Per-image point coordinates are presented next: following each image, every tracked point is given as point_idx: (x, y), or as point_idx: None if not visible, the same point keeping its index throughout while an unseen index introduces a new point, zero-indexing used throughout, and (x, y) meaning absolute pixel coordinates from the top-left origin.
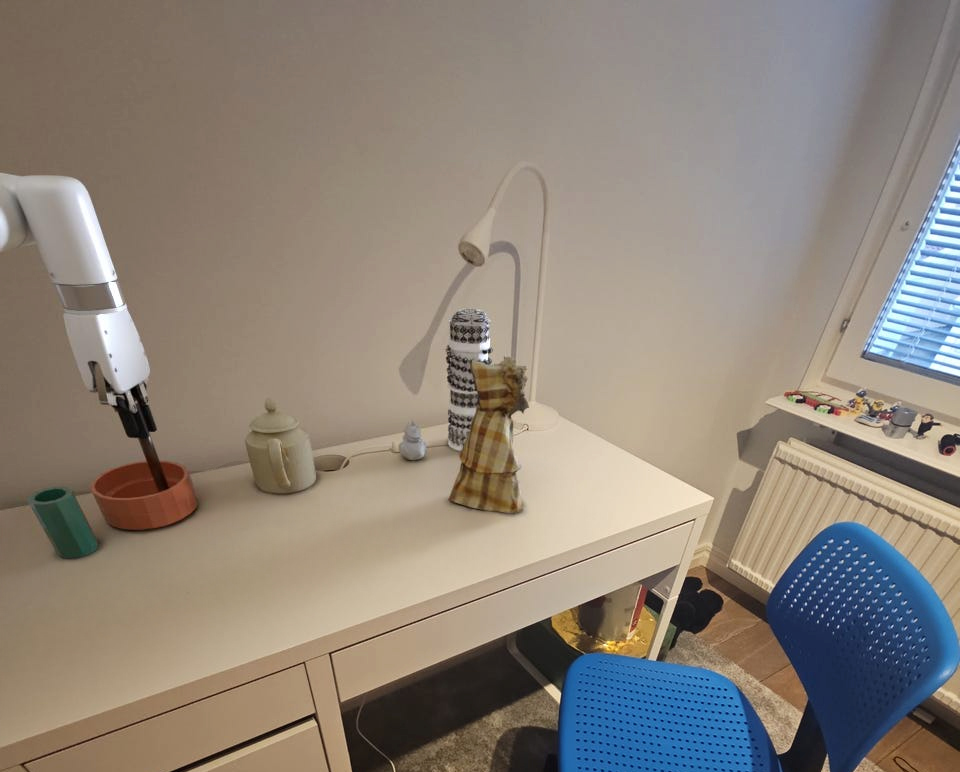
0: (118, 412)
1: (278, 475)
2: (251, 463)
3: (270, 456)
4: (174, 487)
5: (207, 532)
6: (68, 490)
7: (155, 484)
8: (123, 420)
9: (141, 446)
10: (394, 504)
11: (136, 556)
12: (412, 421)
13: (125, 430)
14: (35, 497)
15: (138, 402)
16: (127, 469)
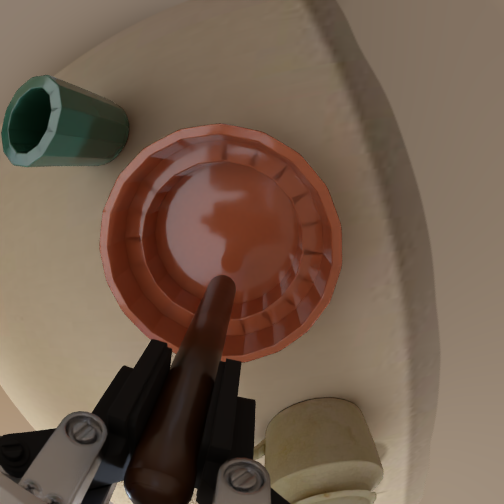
0: (109, 410)
1: None
2: (302, 436)
3: None
4: None
5: (141, 340)
6: (37, 151)
7: (212, 283)
8: (102, 398)
9: (183, 342)
10: None
11: (74, 240)
12: None
13: (144, 354)
14: (32, 90)
15: (198, 494)
16: (315, 191)
